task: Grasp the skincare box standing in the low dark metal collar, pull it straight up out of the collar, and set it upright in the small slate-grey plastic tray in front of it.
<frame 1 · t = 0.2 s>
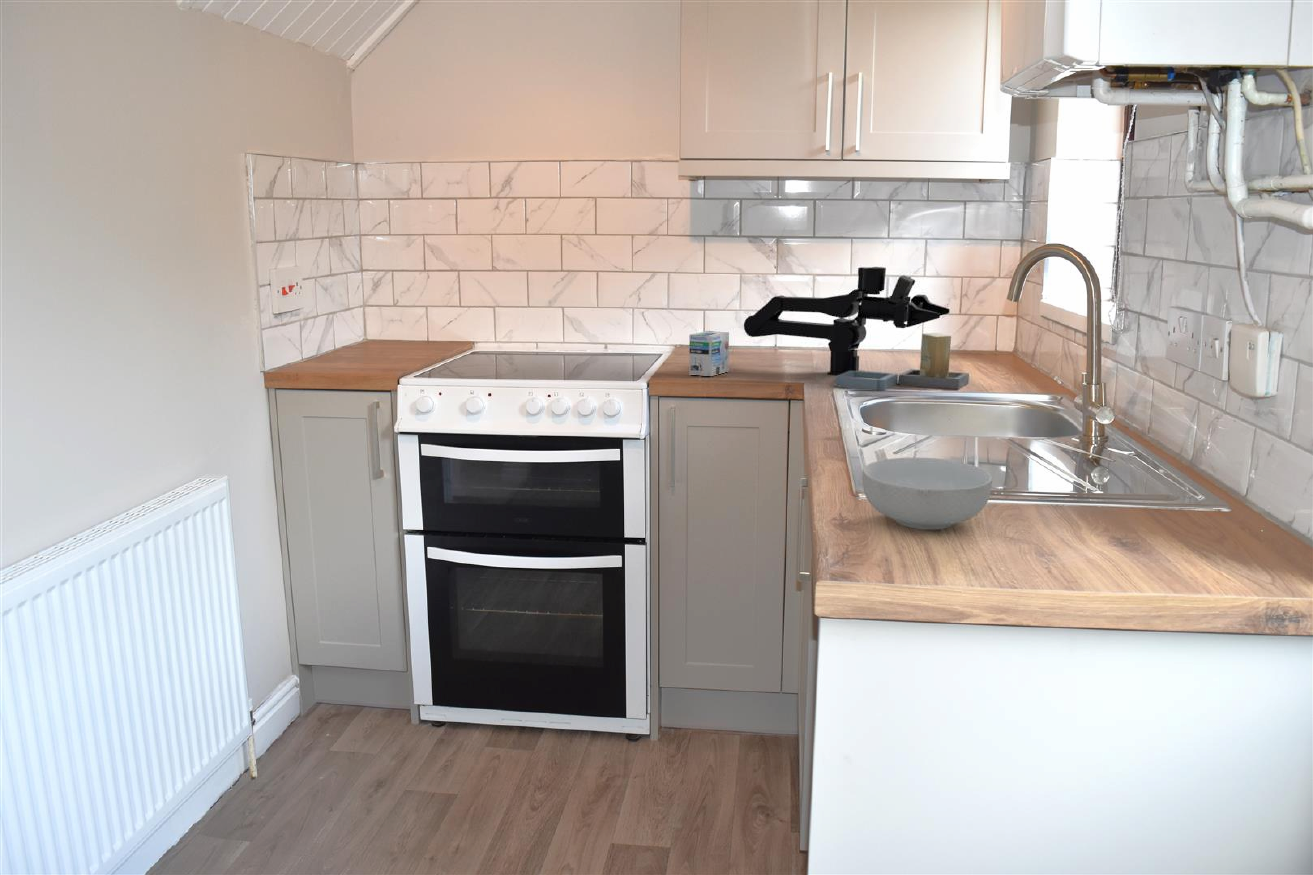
hand: (944, 313, 255), 17 cm above the countertop, tool horizontal, fingers open, 9 cm apart
cereal bowl: (923, 523, 142), on the countertop
slate tray: (866, 385, 252), on the countertop
light bulb box: (709, 375, 271), on the countertop
metal collar: (933, 384, 253), on the countertop
skincare box: (933, 385, 253), resting in metal collar
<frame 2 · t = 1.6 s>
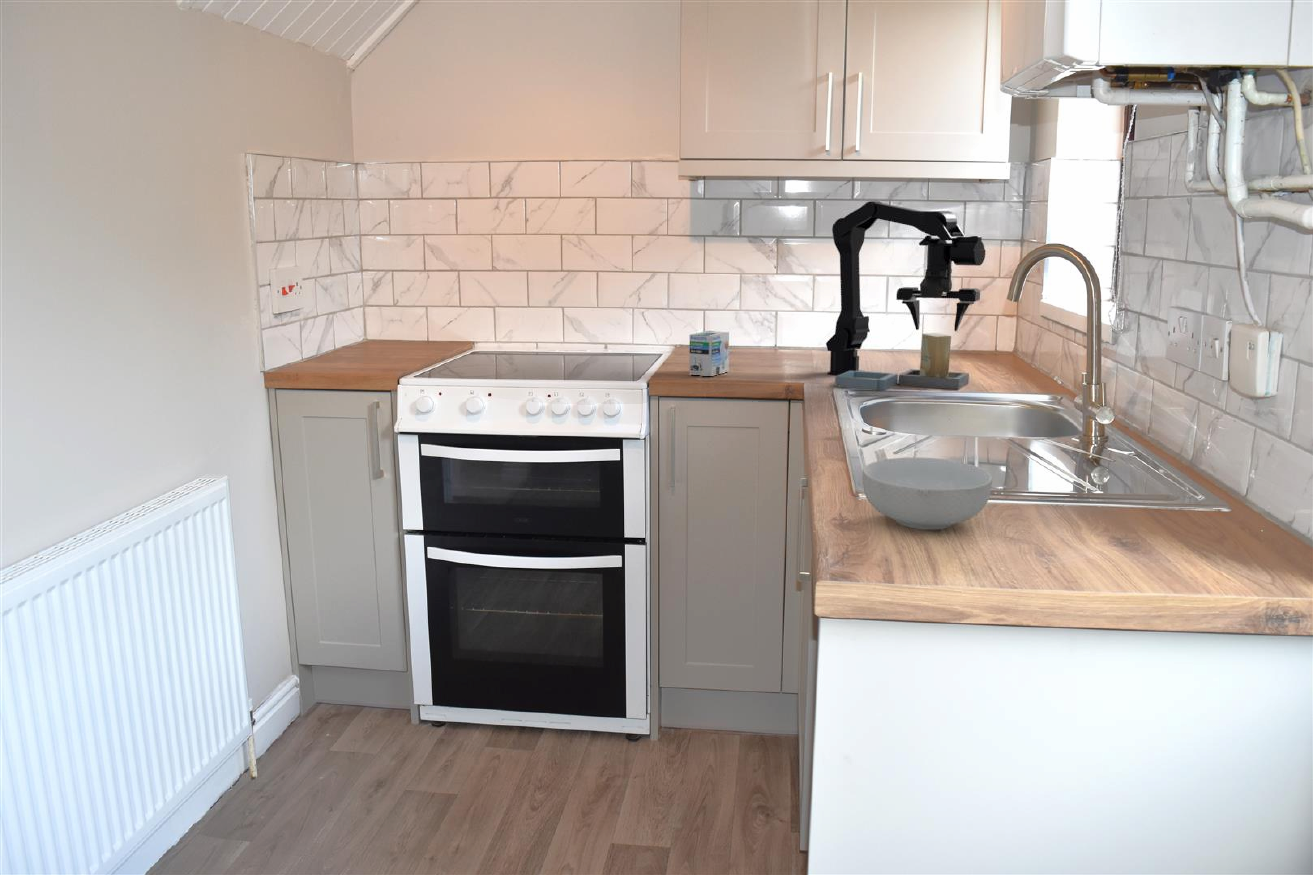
hand: (936, 330, 251), 13 cm above the countertop, tool pointing down, fingers open, 9 cm apart
nothing on the countertop moved.
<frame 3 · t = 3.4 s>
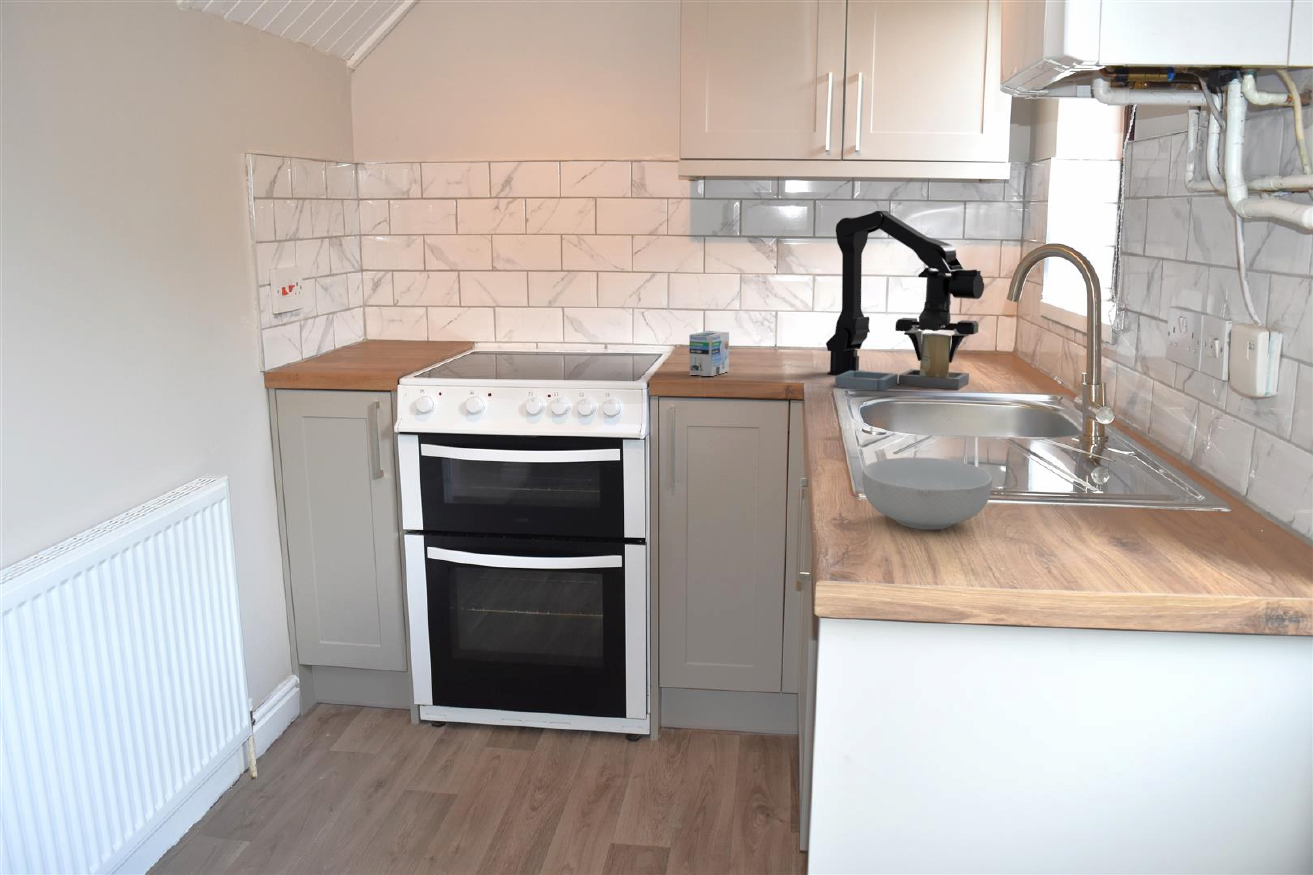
hand: (934, 361, 252), 6 cm above the countertop, tool pointing down, fingers closed on skincare box, 7 cm apart
skincare box: (933, 385, 253), resting in metal collar, touching gripper
everything else where it was.
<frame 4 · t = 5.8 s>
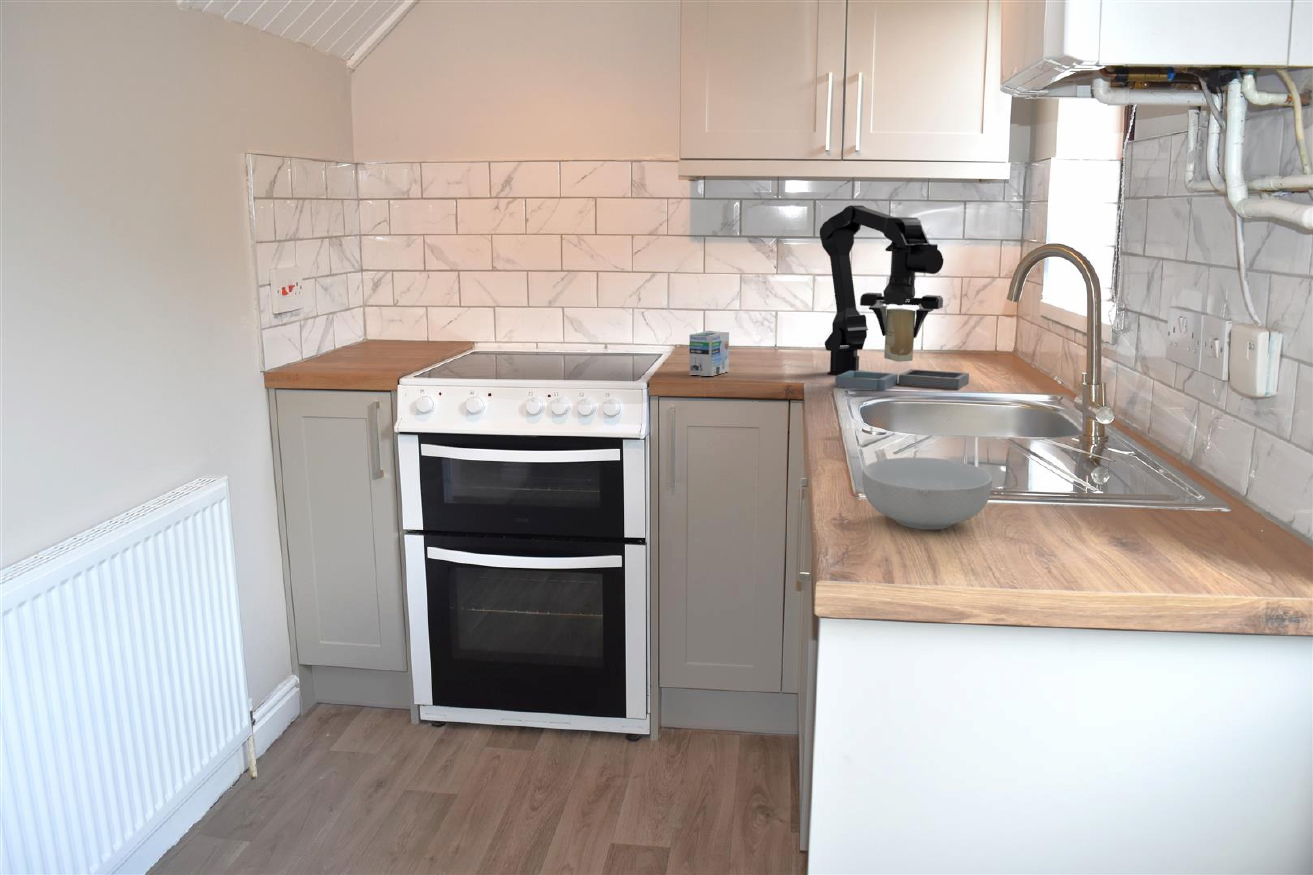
hand: (899, 336, 250), 12 cm above the countertop, tool pointing down, fingers closed on skincare box, 7 cm apart
skincare box: (898, 360, 252), point 6 cm above the countertop, touching gripper
everything else where it was.
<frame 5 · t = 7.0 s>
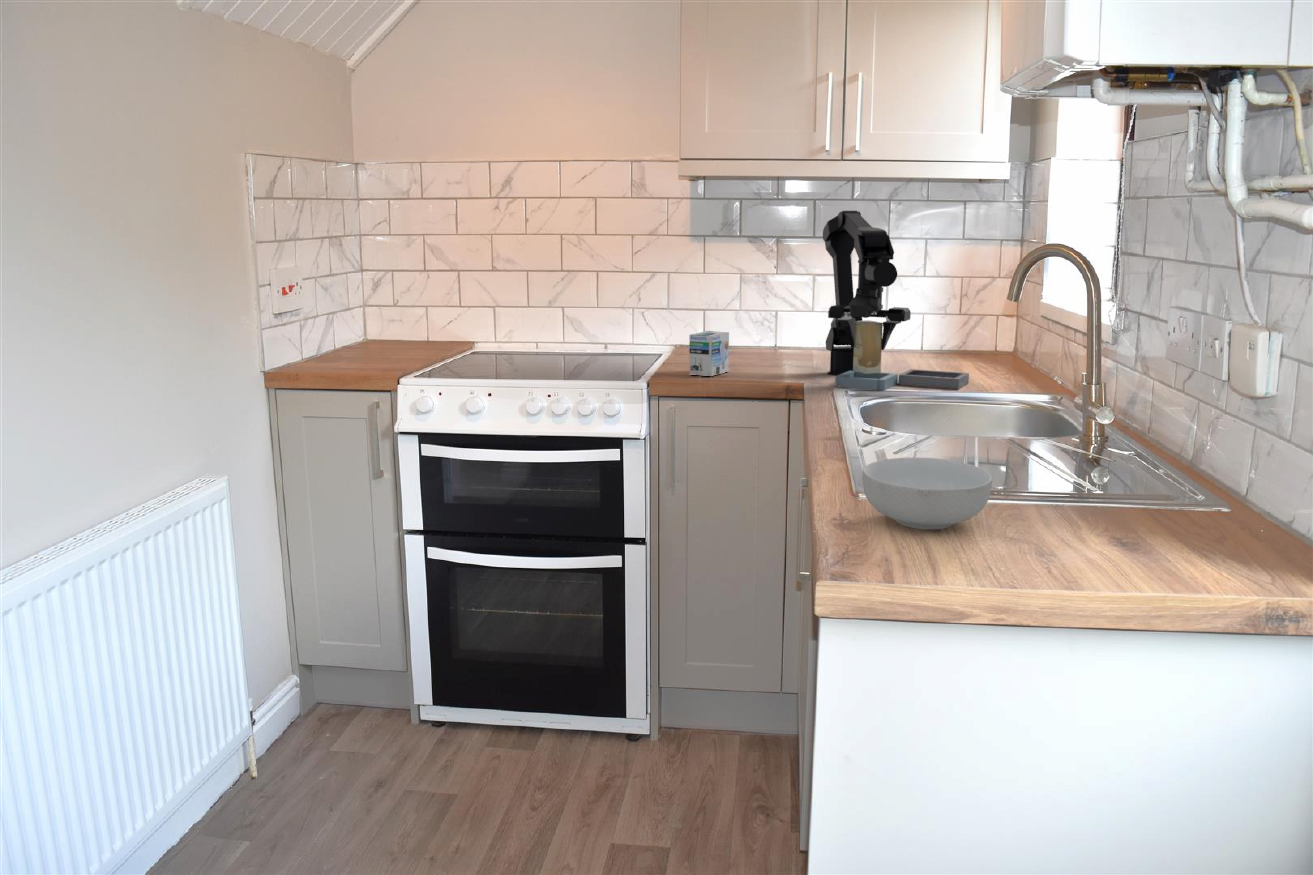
hand: (867, 349, 250), 9 cm above the countertop, tool pointing down, fingers closed on skincare box, 7 cm apart
skincare box: (867, 372, 252), point 3 cm above the countertop, touching gripper
everything else where it was.
when the fingers open (8 cm above the countertop, at t = 8.2 s): skincare box drops 1 cm, resting on slate tray.
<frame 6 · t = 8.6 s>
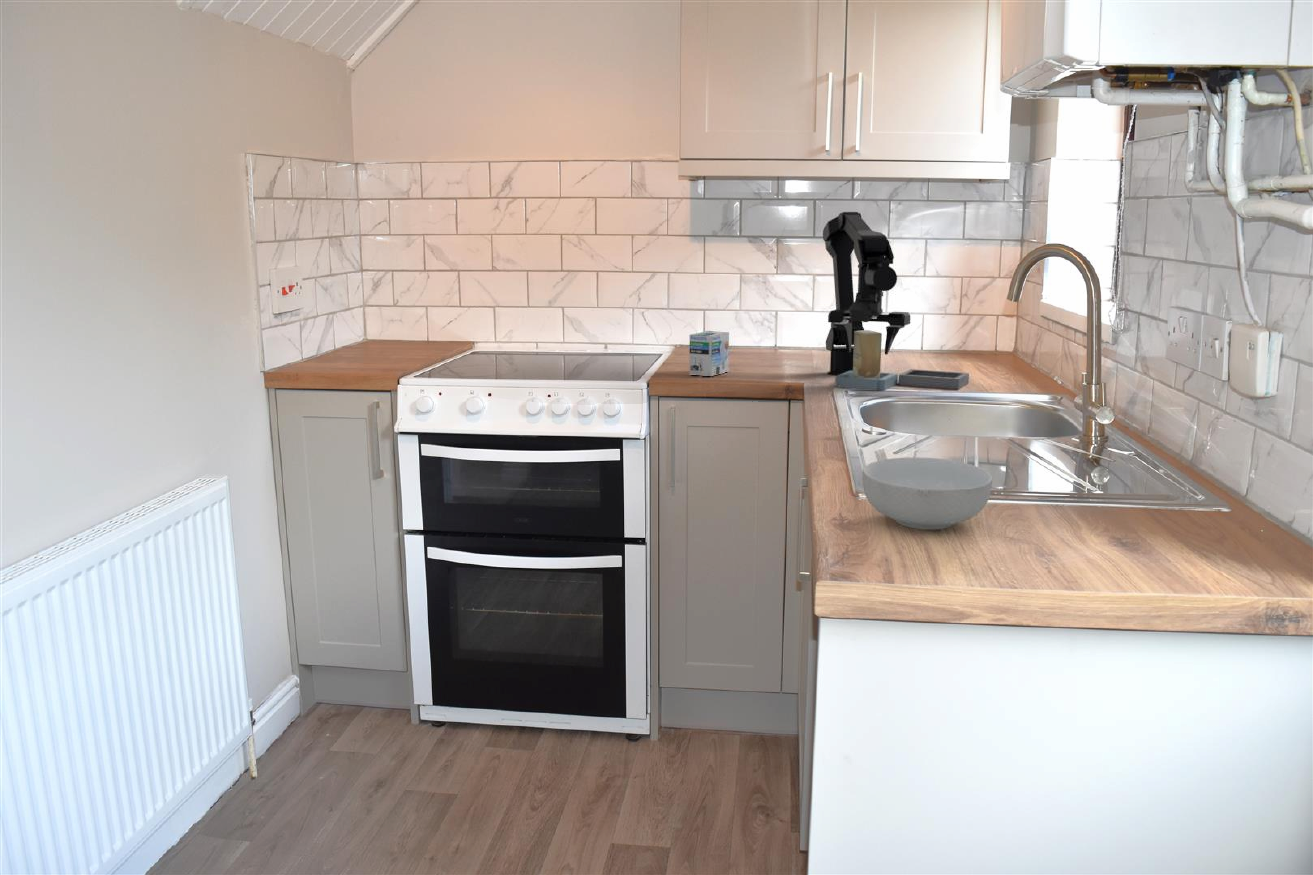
hand: (867, 353, 251), 8 cm above the countertop, tool pointing down, fingers open, 9 cm apart
skincare box: (866, 382, 252), point 1 cm above the countertop, touching slate tray
everything else where it was.
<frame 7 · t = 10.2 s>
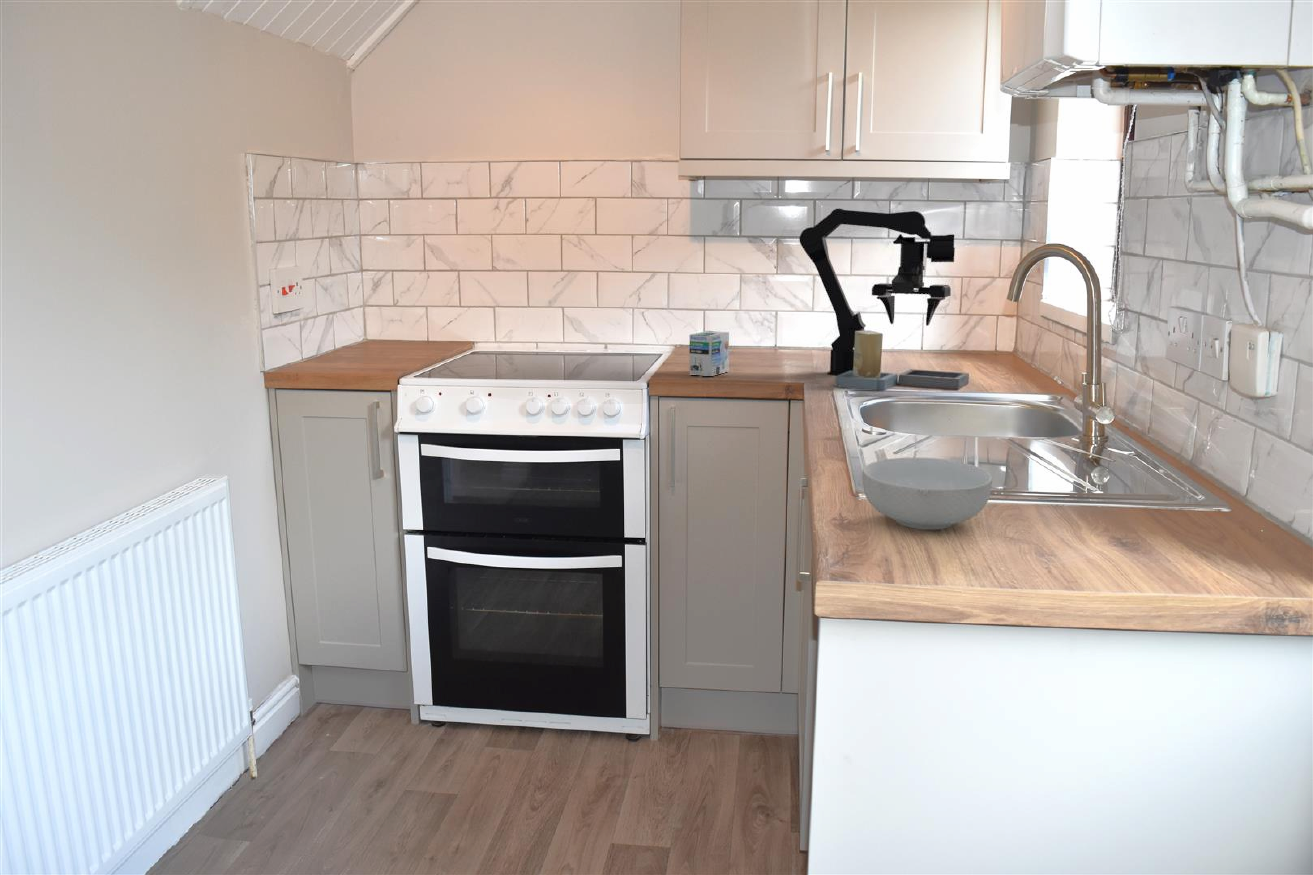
hand: (909, 324, 263), 13 cm above the countertop, tool pointing down, fingers open, 9 cm apart
nothing on the countertop moved.
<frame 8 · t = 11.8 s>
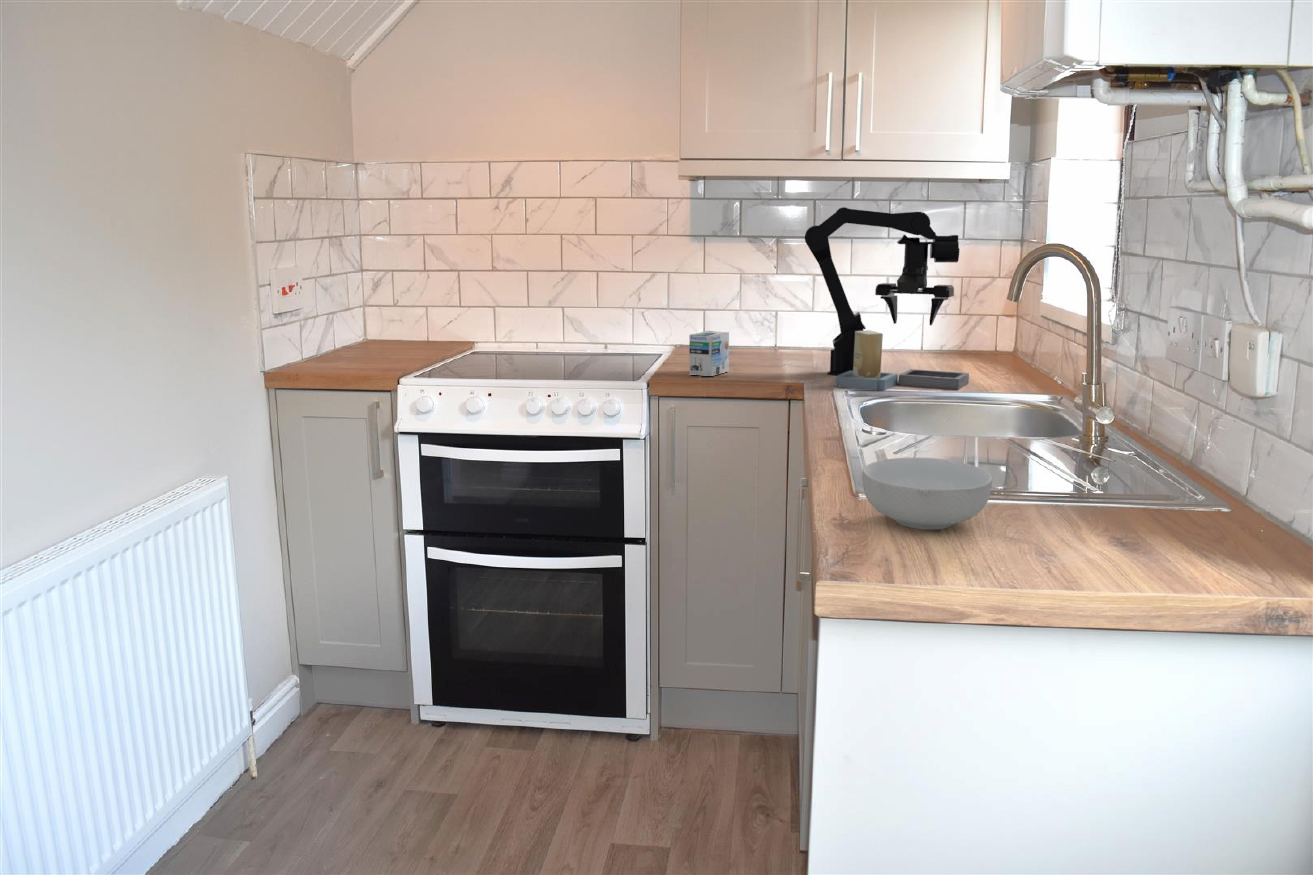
hand: (912, 324, 265), 13 cm above the countertop, tool pointing down, fingers open, 9 cm apart
nothing on the countertop moved.
at the end: skincare box inside the target area on the slate tray (0.0 cm from its centre), point 0.6 cm above the slate tray's base; skincare box tilted 0°; the gripper is holding nothing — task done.
